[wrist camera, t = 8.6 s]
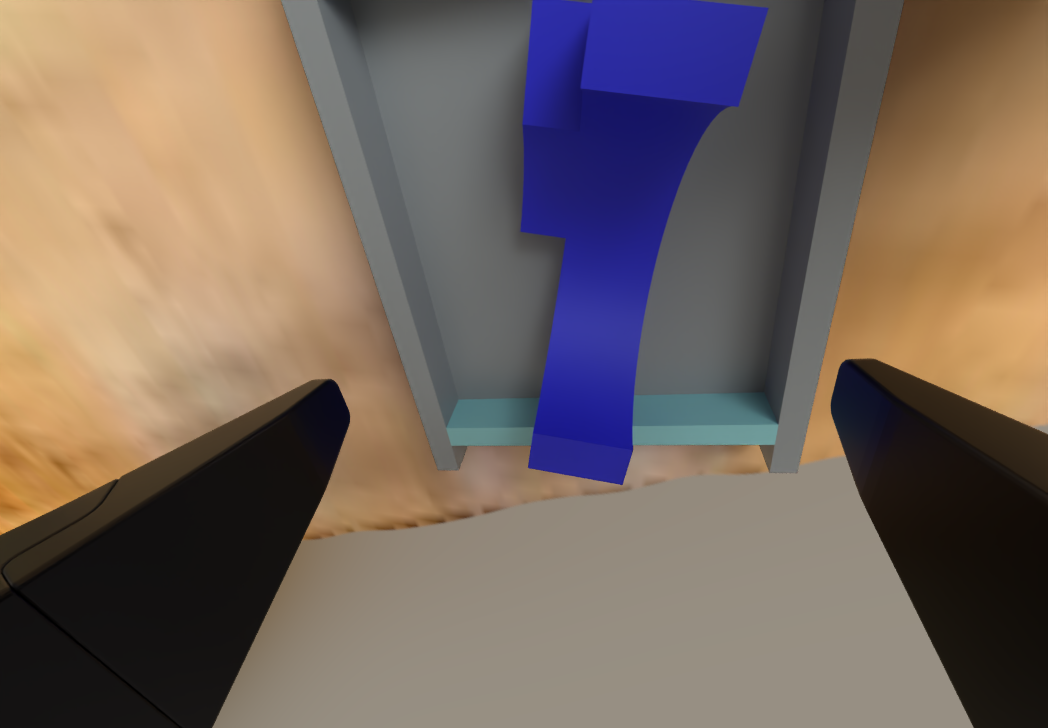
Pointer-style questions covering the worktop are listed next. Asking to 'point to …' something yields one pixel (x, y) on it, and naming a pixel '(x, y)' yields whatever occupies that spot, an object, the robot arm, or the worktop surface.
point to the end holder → (535, 260)
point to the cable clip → (614, 191)
